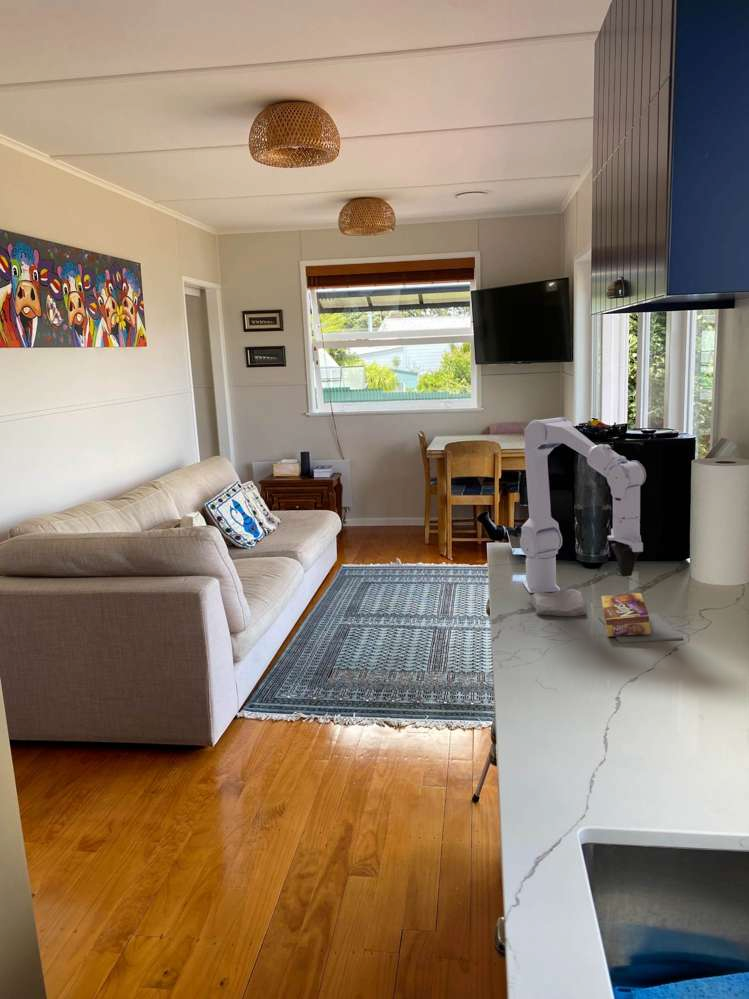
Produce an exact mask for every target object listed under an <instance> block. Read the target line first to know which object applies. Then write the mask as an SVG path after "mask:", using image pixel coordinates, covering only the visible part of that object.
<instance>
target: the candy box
mask: <svg viewBox="0 0 749 999" xmlns="http://www.w3.org/2000/svg"><path fill="white" fill-rule="evenodd" d="M600 599H601V609H602V616H604V621H605V625H604V626H605V631H606V636H607V637H615V636H625V635H639V634H651V630H650V620H649V614H650V613H649V612H648V608H647V606H646V604H645V601H644V599H643V594H642V593H641V592H639V593H638V592H637V593H635V592H634V593H627V594H626V593H625V594H624V593H623V594H615V595H613V594H612V595H611V594H610V595H602V596H601V598H600Z"/></svg>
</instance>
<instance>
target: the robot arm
mask: <svg viewBox="0 0 749 999" xmlns="http://www.w3.org/2000/svg"><path fill="white" fill-rule="evenodd" d="M523 430H524V463H525V478H526V489H527V490H526V492H527V502H528V503H527V505H528V507H527V508H528V519H527V520H526V521H525V522H524V523H523V524H522V526H521V527H520V528H521V535H520V538H519V546H520V550H521V552H522V553H523V554H524V556H525V557H526V558H525V580H522V584H523V586H524V587H525V589H526V590H527V592H528V593H530V594H534V593H536V592H538V591H541V592H544V593H554V592H557V591H559V590H562V589H561V588H560V587H559V586H558V585H557V560H556V559H557V557H556V555H558V554H559V550H560V549H561V547H562V546H563V536H562V533H561V531H560V526H559V522H558V521H557V520H555V519H554V518H553V517H552V512H551V496H550V480H549V478H550V477H549V466H548V464H549V463H548V455H550V453H551V452H553V451H554V449H555V448H556V447H559V446H560V445H561V444H562V445H563V444H564V445H566V446H567V447H569V448H570V449H572V450H574V451H576V452H578V453H579V454H580V455H582V456H584V457H585V458H586V462H587V465H589V467H590V468H592V469H594V470H595V471H596V472H598V473H599V474H601V475H602V476H603V477H605V478H606V481H607V484H608V486H609V488H610V495H611V496H612V528H611V529H610V535H607V540H608V541H616V543H611V544H610V547H611V548H612V550H613V553H614V555H615V557H616V561H617V565H618V570H619V574H620V575H621V576H622V577H631V576H633V572H634V568H635V565H636V561H637V558H638V557H639V555H640V553H642V552H644V543H643V542H642V536H641V534H640V533H641V531H640V530H641V523H640V522H641V486H642V485H643V484H644V483H645V481H646V480H647V479H646V478H647V473H646V471H647V470H646V469H645V467H644V466H643V464H642V463H640V461H638V460H628V459H627V457H626V456H624V455H620V454H618V453H617V452H616V451H615V450H613V449H612V446H610V444H603V443H602V444H601V443H600V444H597V445H596V444H595V443H594V442H592V441H591V440H590V439H589V438H588V437H587V436H586V435H584V434H583V433H582V432H580V431H579V430H578V429H577V428H576V427H574V423H573V422H572V421H571V420H568V419H567V418H566V417H564V416H558V417H553V418H552V417H551V418H545V419H533V420H531V421H530V422H528V424H527V425H526V426H525V427H524V429H523Z"/></svg>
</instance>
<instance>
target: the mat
mask: <svg viewBox="0 0 749 999" xmlns="http://www.w3.org/2000/svg"><path fill="white" fill-rule="evenodd" d="M648 614H649V620H650V630H651V634H639V635H625V636H614V638H615V639H616V640H617V641H618V642H619V643H620V644H622V643H624V644H625V643H642V642H661V641H678V640H679V641H680V640H684V636H682V634H680V633H679V632H678V631H677V630H676V629H674V628H673V627H672V626H671V625H670V624H669V623H667V622H666V621H665V619H663V617H661V616H660V615H659V614H658V613H648ZM598 619H599V621H600V622H601V623H602V624H603V625H604V626H605V621H604V615H602V616H598Z"/></svg>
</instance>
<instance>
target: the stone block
mask: <svg viewBox="0 0 749 999" xmlns="http://www.w3.org/2000/svg"><path fill="white" fill-rule="evenodd" d="M531 606H532V608H533V609H534V610H535V612H536V615H540V616H543V615H545V616H557V617H558V616H559V617H577V616H584V615H587V611H586V610H587V609H586V605H585V601H584V599H583V596H582V592H581V591H580V590H578V589H575V588H567V589H561V590H559V591H557V592H541V591H538V592H536V593H532V596H531Z"/></svg>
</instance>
